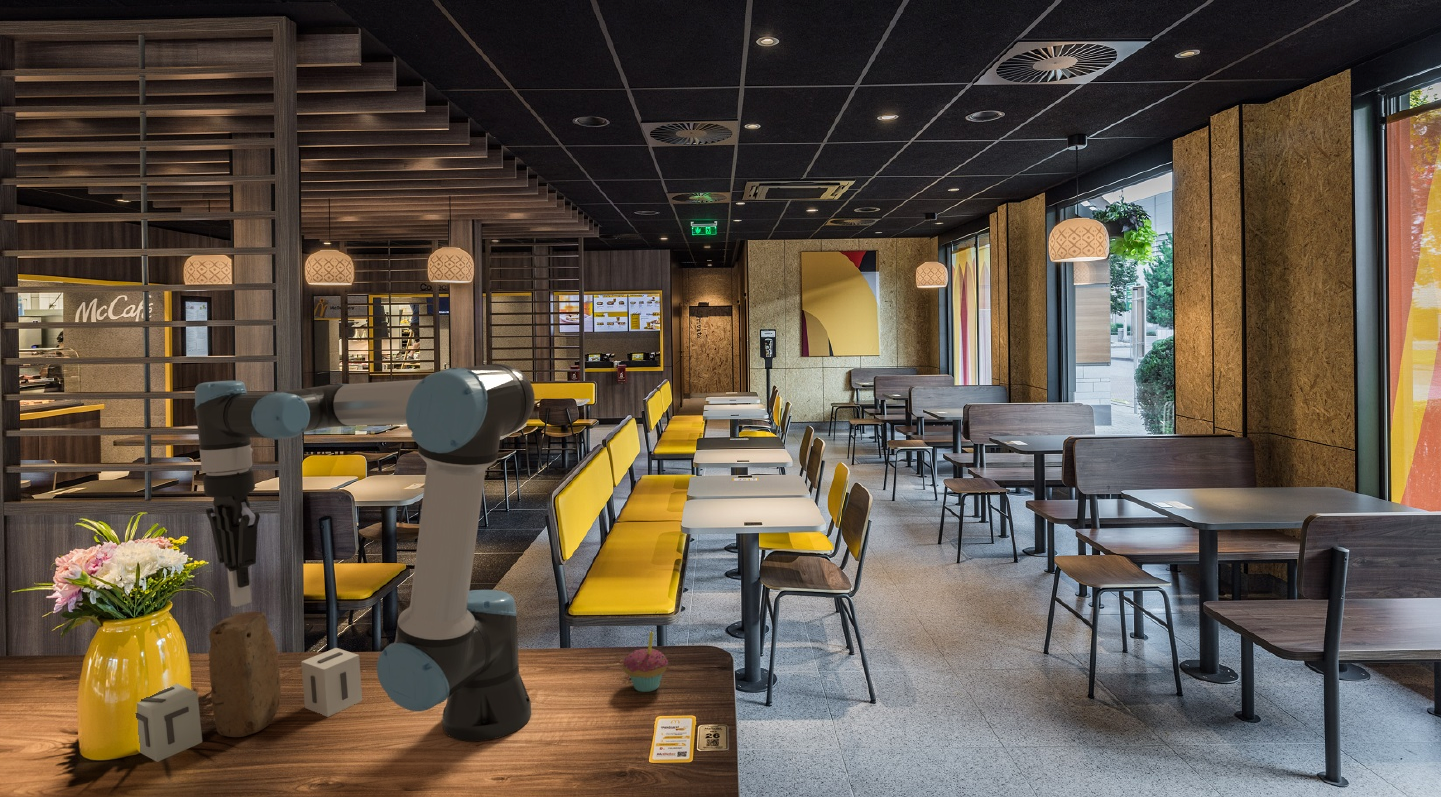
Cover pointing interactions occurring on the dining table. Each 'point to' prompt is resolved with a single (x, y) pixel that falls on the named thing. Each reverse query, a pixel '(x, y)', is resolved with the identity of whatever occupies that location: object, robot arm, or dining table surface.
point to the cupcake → (645, 667)
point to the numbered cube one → (331, 681)
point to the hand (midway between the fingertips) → (241, 603)
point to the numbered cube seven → (168, 722)
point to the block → (243, 674)
